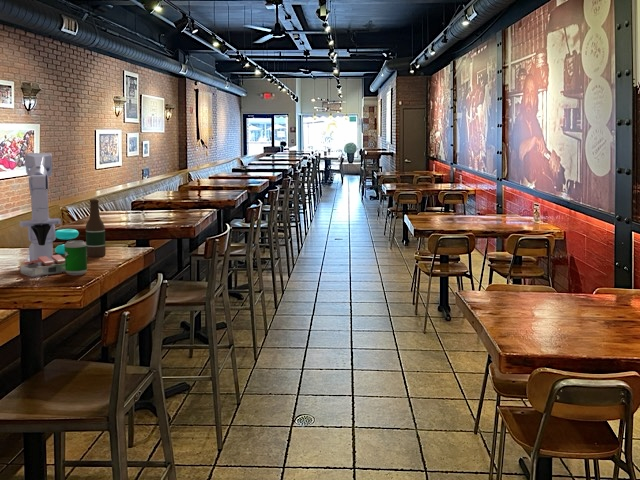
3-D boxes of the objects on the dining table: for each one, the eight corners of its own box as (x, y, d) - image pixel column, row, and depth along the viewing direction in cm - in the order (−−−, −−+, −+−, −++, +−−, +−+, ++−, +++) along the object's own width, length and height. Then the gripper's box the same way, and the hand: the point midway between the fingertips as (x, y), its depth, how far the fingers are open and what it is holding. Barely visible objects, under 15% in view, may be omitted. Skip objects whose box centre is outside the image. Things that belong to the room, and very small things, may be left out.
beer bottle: (109, 255, 280) (107, 199, 277) (94, 258, 274) (92, 200, 270) (97, 253, 284) (95, 198, 281) (82, 256, 278) (80, 199, 274)
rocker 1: (24, 265, 239) (24, 262, 239) (33, 263, 242) (33, 261, 242) (32, 262, 235) (31, 260, 235) (40, 261, 238) (40, 259, 238)
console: (20, 273, 240) (20, 263, 240) (59, 267, 251) (59, 258, 251) (32, 277, 234) (31, 266, 234) (72, 271, 245) (71, 261, 245)
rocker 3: (50, 257, 247) (50, 255, 246) (58, 256, 249) (59, 254, 249) (58, 263, 243) (58, 261, 243) (66, 262, 245) (66, 260, 245)
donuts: (83, 229, 285) (64, 232, 277) (84, 252, 287) (65, 255, 278) (68, 228, 290) (48, 230, 282) (69, 250, 292) (49, 253, 283)
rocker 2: (37, 259, 243) (37, 256, 243) (46, 258, 245) (46, 255, 245) (45, 265, 239) (45, 263, 239) (53, 264, 242) (54, 262, 241)
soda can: (90, 272, 244) (89, 240, 243) (81, 276, 237) (80, 243, 235) (71, 271, 245) (70, 239, 243) (61, 275, 238) (60, 242, 236)
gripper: (25, 210, 230) (27, 248, 232) (64, 207, 241) (66, 244, 243) (16, 208, 234) (18, 246, 236) (55, 206, 245) (56, 242, 247)
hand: (41, 245), depth 240 cm, fingers closed
